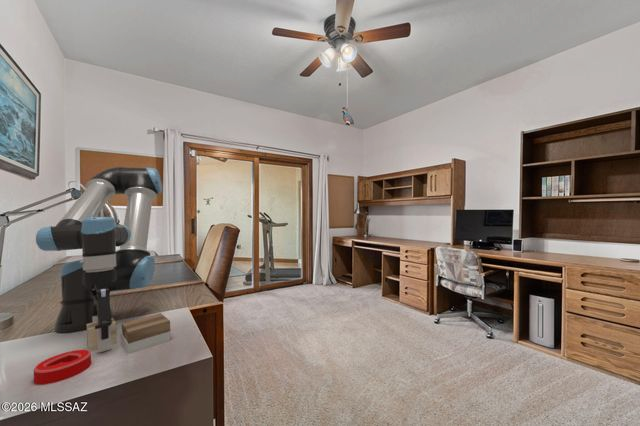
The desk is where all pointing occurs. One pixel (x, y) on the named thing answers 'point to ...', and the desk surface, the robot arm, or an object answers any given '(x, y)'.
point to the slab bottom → (144, 342)
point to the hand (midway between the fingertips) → (101, 343)
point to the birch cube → (93, 335)
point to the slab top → (145, 327)
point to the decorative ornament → (62, 367)
